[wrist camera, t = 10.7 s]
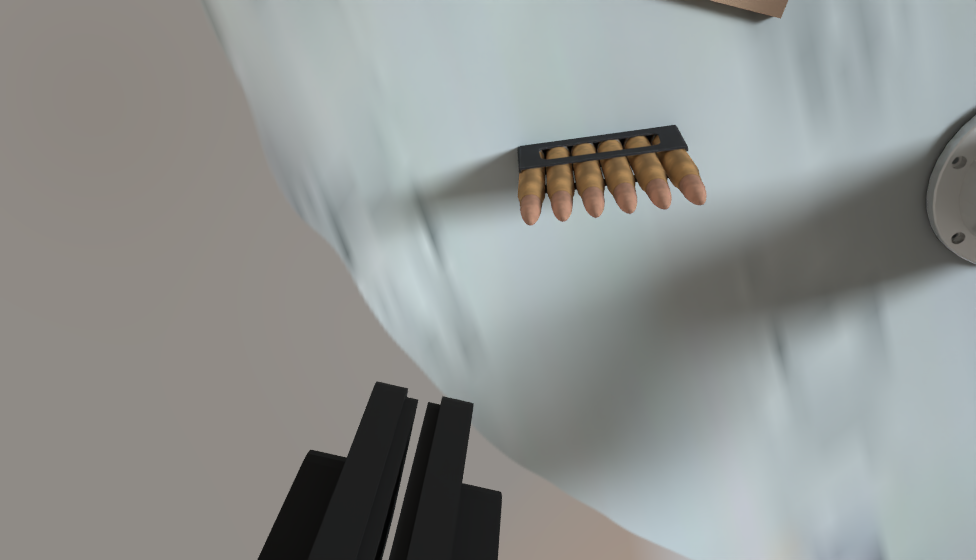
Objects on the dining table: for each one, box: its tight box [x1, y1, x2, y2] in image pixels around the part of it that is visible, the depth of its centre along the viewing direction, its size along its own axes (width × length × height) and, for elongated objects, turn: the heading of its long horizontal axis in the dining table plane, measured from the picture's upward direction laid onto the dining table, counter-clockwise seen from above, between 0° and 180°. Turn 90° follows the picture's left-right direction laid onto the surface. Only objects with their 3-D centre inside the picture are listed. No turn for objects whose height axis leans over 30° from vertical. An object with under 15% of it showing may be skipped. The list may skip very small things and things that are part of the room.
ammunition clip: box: [518, 125, 706, 225], centre depth 38 cm, size 11×2×12 cm, turn 99°
